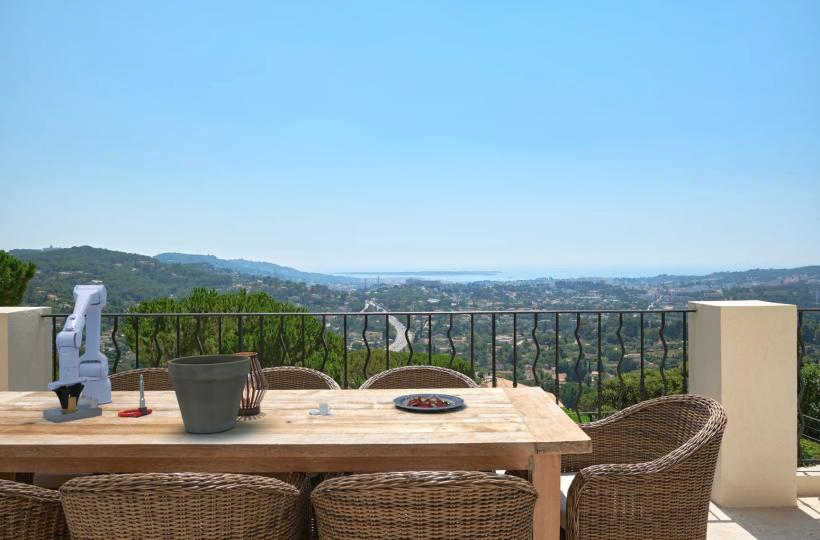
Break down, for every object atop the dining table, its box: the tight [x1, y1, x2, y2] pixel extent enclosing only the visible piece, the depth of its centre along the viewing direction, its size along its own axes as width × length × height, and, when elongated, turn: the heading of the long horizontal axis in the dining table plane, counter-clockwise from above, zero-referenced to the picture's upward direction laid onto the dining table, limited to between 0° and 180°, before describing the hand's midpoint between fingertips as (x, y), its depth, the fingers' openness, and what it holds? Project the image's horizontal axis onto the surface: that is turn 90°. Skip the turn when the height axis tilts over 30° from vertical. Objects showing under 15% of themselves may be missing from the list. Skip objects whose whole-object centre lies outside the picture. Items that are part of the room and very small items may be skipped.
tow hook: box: [117, 374, 153, 418], centre depth 214 cm, size 9×14×10 cm
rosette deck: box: [42, 394, 103, 424], centre depth 211 cm, size 14×12×6 cm
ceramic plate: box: [392, 393, 465, 412], centre depth 225 cm, size 26×26×3 cm
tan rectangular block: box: [62, 396, 76, 413], centre depth 210 cm, size 3×3×6 cm
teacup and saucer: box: [308, 402, 336, 418], centre depth 213 cm, size 9×8×4 cm
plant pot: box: [167, 354, 252, 434], centre depth 195 cm, size 25×25×22 cm
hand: (69, 407), depth 210 cm, fingers closed on tan rectangular block, 3 cm apart
